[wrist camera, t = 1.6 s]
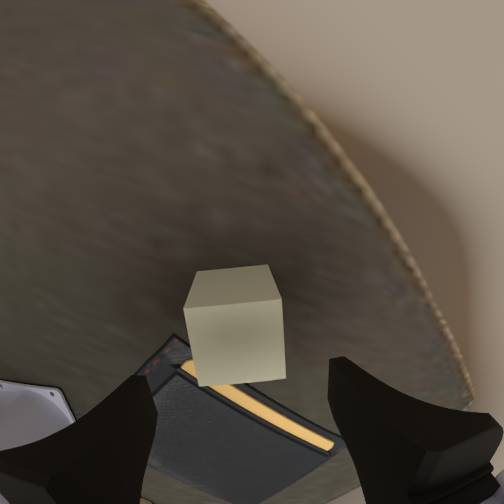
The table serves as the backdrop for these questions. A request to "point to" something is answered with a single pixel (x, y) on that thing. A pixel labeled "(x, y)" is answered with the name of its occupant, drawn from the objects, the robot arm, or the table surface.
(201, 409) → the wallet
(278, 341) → the block
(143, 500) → the candle
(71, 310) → the table surface
